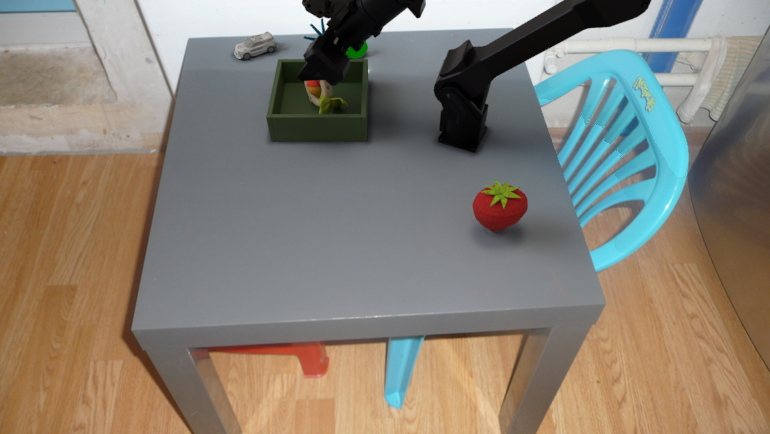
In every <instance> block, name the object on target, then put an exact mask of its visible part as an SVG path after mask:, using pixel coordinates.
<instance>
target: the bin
mask: <svg viewBox="0 0 770 434" xmlns="http://www.w3.org/2000/svg"><path fill="white" fill-rule="evenodd" d="M349 59H350V68H349V70H348V71H347V73H346V75H345V77H344V79H343V80H342V81H341V82H340V83H338V84H337V85H336V86H332V95H333V98H341V99H342V100H344V101H346V103H347V104H348V106H349V109H347V108H346V107H345V106H344V104H343V103H342V105H341V106H340V107H339V108H333V109H331V108H330V110H329V113H328V114H319V111H320V107H318V106H316V105H315V104H314V103H311V102H310V101H309V96H308V93H307V90H306V87H305V82H304V81H301V80H299V79H298V78H297V75H298V73H299V72H300V71H301V69H302V68H303V67H304V65H305V64H306V63H307V62H306V61H305V59H304V58H278V59H277V62H276V68H275V73H274V78H273V81H272V87H271V92H270V97H269V101H268V107H267V112H266V117H265V118H266V124H267V129H268V133H269V134H268V135H269V139H270V141H271V142H367V141H368V120H369V119H368V117H369V88H370V87H369V83H370V82H369V59H368V58H356V59H353V58H349Z"/></svg>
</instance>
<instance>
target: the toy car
mask: <svg viewBox="0 0 770 434" xmlns="http://www.w3.org/2000/svg"><path fill="white" fill-rule="evenodd" d="M275 48H276V49H277V48H278V47H277V42H276V40H275V38H274V35H273V34H272V33H271V32H269V31H265V32H262V33H259V34H254V35H251V36H249V37H247V38H246V39H245V40H244V41H241V42H239V43H237V44H236V45H235V47H234V52H233V54H234V56H235V58H236V59H238V60H241V59H244V60H246V61H247V60H248V61H249V59H251V57H255V56H258V55H262V54H264V53H267V52H268V54H271V53H273V52H275Z"/></svg>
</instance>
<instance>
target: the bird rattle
mask: <svg viewBox="0 0 770 434" xmlns="http://www.w3.org/2000/svg"><path fill="white" fill-rule="evenodd" d="M304 82H305V87H306V90H307V93H308V96H309V101H310V102H311V103H314V104H315V105H316V106H318V107H320V111H319V114H328V113H329V110H330V108H331V109H333V108H339V107H340V106H341V105H342V103H343V104H344V106H345V107H346V108H347V109H349V106H348V104H347V103H346V101H344V100H342V99H341V98H333V95H332V86H331V85H330V84H329V83H328V82H327V81H326V80H314V81H304Z"/></svg>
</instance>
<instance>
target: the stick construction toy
mask: <svg viewBox="0 0 770 434" xmlns="http://www.w3.org/2000/svg"><path fill="white" fill-rule="evenodd" d="M324 23H325V22H324V17H323V18H320V27H321V30H319V29H318V28H317V27H316V26H315V25H314V24H313V23H310V24H309V26H310V27H311V28H312V29H313V31H314V32H315V33H316V34H317V35H318V36H322V35H323V34H324V32H325V31H326V28H325V24H324ZM316 38H317V37H312V36H307V35H304V36H303V40H304V39H305V40H309V41H312V42H313V41H314V39H316ZM368 49H369V46H368V42H367V40H366V41H365V42H364V44H363V46H362V48H361V49H360V50H359V51H358V52H356V51H355V50H354V49H353V48H352V47H351V46H350V47H349V49H348V51H347V53H346V56H347V57H348V58H349V59H361V58H362V57H363V56H364V55H365V54H366V53H367V51H368Z"/></svg>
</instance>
